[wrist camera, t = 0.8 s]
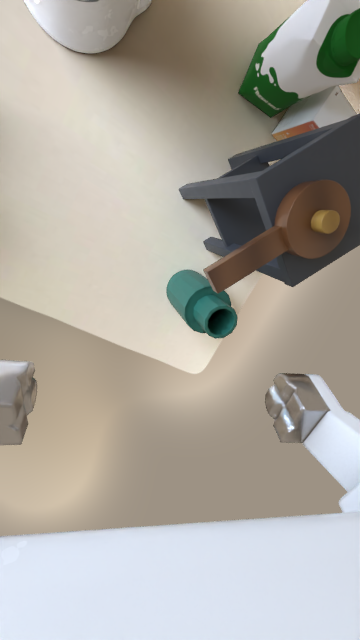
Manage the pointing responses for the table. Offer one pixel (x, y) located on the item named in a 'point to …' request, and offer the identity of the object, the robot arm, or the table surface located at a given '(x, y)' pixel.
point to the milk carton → (305, 55)
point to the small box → (314, 113)
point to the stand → (282, 193)
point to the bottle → (201, 304)
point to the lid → (290, 232)
